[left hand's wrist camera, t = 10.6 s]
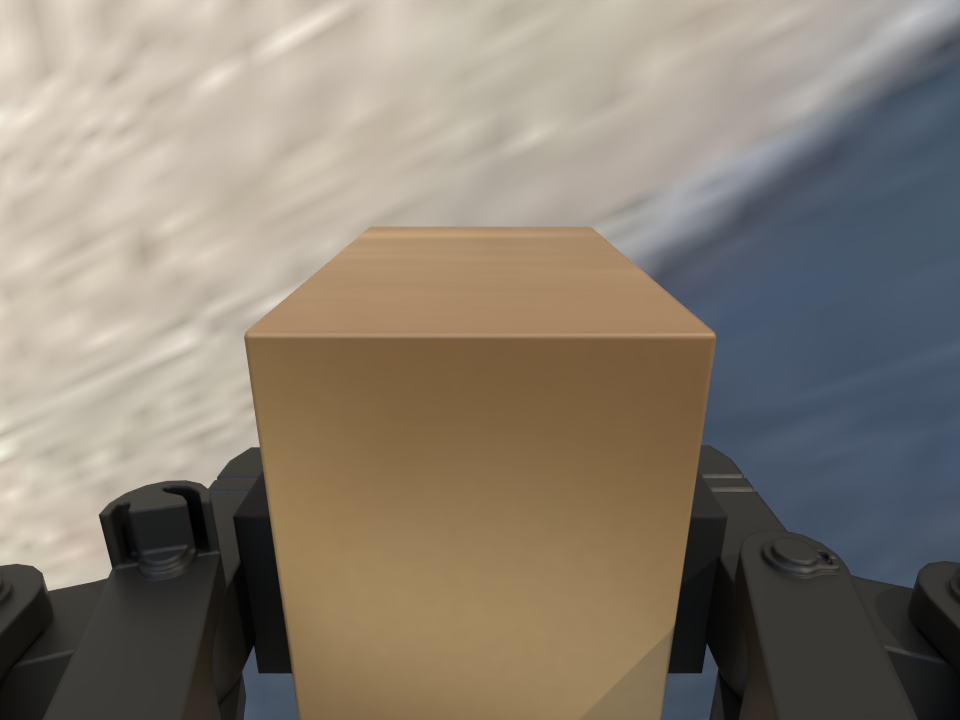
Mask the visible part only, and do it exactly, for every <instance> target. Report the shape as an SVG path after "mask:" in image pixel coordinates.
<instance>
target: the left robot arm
mask: <svg viewBox="0 0 960 720" xmlns="http://www.w3.org/2000/svg"><path fill="white" fill-rule="evenodd" d="M99 518H100V522H101V526H102V530H103V533H104V537H105V541H106V545H107V549H108V553H109V557H110V561H111V565H112V571H111V573H110V575H109V577H108V578H107V579H103V580H99V581H96V582H91V583H86V584H81V585H76V586H72V587H67V588H62V589H57V590H52V591H48V590H47V587H46V584H45V580H44V577H43V574H42V573H41V572H40V571H39V570H37V569H36V568H35V567H33V566H27V565H20V564H12V565H4V566H0V720H243V719H244V710H245V702H246V693H245V686H244V680H243V674H242V670H243V668H244V666H245V664H246V661H247V659H248V657H249V655H250V653H251V650H252V648H253V646H254V648H255V654H256V660H257V666H258V672H259V673H292V668H291V661H290V654H289V647H288V640H287V633H286V626H285V619H284V612H283V605H282V598H281V591H280V584H279V577H278V570H277V563H276V556H275V549H274V542H273V535H272V528H271V521H270V514H269V507H268V500H267V493H266V486H265V479H264V472H263V465H262V458H261V451H260V447H251V448H250V449H248V450H246V451H245V452H243V453H242V454H240V455H239V456H237V457H235V458H234V459H232V460H231V461H229V463H228V464H227V465H226V466H225V468H224V469H223V470H222V472H221V473H220V474H219V476H218V477H217V480H215V481H214V482H213V483H212V485H211V486H210V487H209V488H208V489H207V488H206V487H205V486H203V485H202V484H200V483H196V482H191V481H187V480H183V481H165V482H160V483H155V484H150V485H146V486H143V487H141V488H138V489H135V490H133V491H130V492H128V493H125V494H124V495H122V496H120V497H119V498H117V499H116V500H114V501H112V502H111V503H109V504H108V505H107V506H106V508H105V509H104V510H103V511H102V512H101V513H100V514H99ZM707 644H708V646H709V648H710V651H711V653H712V655H713V657H714V659H715V662H716V664H717V666H718V668H719V669H718V674H717V680H716V685H715V691H714V697H713V702H712V708H711V713H710V719H709V720H960V563H955V562H946V561H944V562H936V563H929V564H927V565H926V566H925V567H923V568H922V569H921V570H919V573H918V576H917V579H916V582H915V586H914V589H912V588H907V587H902V586H897V585H892V584H887V583H882V582H878V581H873V580H868V579H864V578H860V577H856V576H853V575H851V574H850V572H849V570H848V568H847V566H846V565H845V564H844V562H843V561H842V560H841V558H840V557H839V556H838V555H837V554H836V553H834V552H833V551H832V550H830V549H829V548H827V547H826V546H825V545H823V544H822V543H819V542H817V541H815V540H813V539H810V538H808V537H806V536H804V535H800V534H796V533H792V532H788V531H787V530H786V529H785V527H784V526H783V525H782V524H781V522H780V521H779V520H778V518H777V517H776V516H775V515H774V513H773V512H772V511H771V509H770V508H769V507H768V506H767V504H766V503H765V502H764V500H763V499H762V498H761V497H760V495H759V494H758V493H757V492H754V488H753V486H752V485H751V484H750V483H749V481H748V480H747V479H746V478H744V475H743V474H742V472H741V471H740V470H739V468H738V467H737V466H736V465H735V463H734V462H733V461H732V459H730V458H729V457H727V456H725V455H724V454H722V453H721V452H719V451H718V450H716V449H714V448H713V447H711V446H701V448H700V455H699V462H698V469H697V476H696V483H695V489H694V496H693V503H692V510H691V517H690V524H689V531H688V538H687V545H686V552H685V558H684V565H683V572H682V579H681V586H680V593H679V600H678V607H677V614H676V620H675V627H674V634H673V641H672V648H671V655H670V662H669V669H668V673H702V669H703V663H704V657H705V651H706V645H707Z"/></svg>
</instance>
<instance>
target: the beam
mask: <svg viewBox="0 0 960 720" xmlns="http://www.w3.org/2000/svg"><path fill="white" fill-rule="evenodd" d="M244 338H245V345H246V352H247V360H248V367H249V374H250V381H251V388H252V395H253V402H254V409H255V416H256V423H257V430H258V437H259V444H260V451H261V458H262V465H263V472H264V479H265V486H266V493H267V500H268V507H269V514H270V521H271V528H272V535H273V542H274V549H275V556H276V563H277V570H278V577H279V584H280V591H281V598H282V605H283V612H284V619H285V626H286V633H287V640H288V647H289V654H290V661H291V668H292V675H293V682H294V689H295V696H296V703H297V710H298V717H299V720H661V717H662V710H663V703H664V696H665V689H666V683H667V676H668V669H669V662H670V655H671V648H672V641H673V634H674V627H675V620H676V614H677V607H678V600H679V593H680V586H681V579H682V572H683V565H684V558H685V552H686V545H687V538H688V531H689V524H690V517H691V510H692V503H693V496H694V489H695V483H696V476H697V469H698V462H699V455H700V448H701V441H702V434H703V427H704V421H705V414H706V407H707V400H708V393H709V386H710V379H711V372H712V365H713V359H714V352H715V345H716V334H715V332H714V331H712V330H711V329H710V328H709V327H708V326H706V325H705V324H704V323H703V322H702V321H701V320H699V319H698V318H697V317H696V316H695V315H694V314H692V313H691V312H690V311H689V310H688V309H687V308H685V307H684V306H683V305H682V304H681V303H679V302H678V301H677V300H676V299H675V298H674V297H672V296H671V295H670V294H669V293H668V292H667V291H665V290H664V289H663V288H662V287H661V286H659V285H658V284H657V283H656V282H655V281H654V280H652V279H651V278H650V277H649V276H648V275H647V274H645V273H644V272H643V271H642V270H641V269H640V268H638V267H637V266H636V265H635V264H634V263H632V262H631V261H630V260H629V259H628V258H627V257H625V256H624V255H623V254H622V253H621V252H620V251H618V250H617V249H616V248H615V247H614V246H613V245H611V244H610V243H609V242H608V241H607V240H605V239H604V238H603V237H602V236H601V235H600V234H598V233H597V232H596V231H595V230H594V229H593V228H591V227H371V228H369V229H368V230H367V231H365V232H364V233H363V234H362V235H361V236H360V237H358V238H357V239H356V240H355V241H354V242H352V243H351V244H350V245H349V246H348V247H346V248H345V249H344V250H343V251H342V252H340V253H339V254H338V255H337V256H336V257H335V258H333V259H332V260H331V261H330V262H329V263H327V264H326V265H325V266H324V267H323V268H321V269H320V270H319V271H318V272H317V273H315V274H314V275H313V276H312V277H311V278H310V279H308V280H307V281H306V282H305V283H304V284H302V285H301V286H300V287H299V288H298V289H296V290H295V291H294V292H293V293H292V294H290V295H289V296H288V297H287V298H286V299H285V300H283V301H282V302H281V303H280V304H279V305H277V306H276V307H275V308H274V309H273V310H271V311H270V312H269V313H268V314H267V315H265V316H264V317H263V318H262V319H261V320H260V321H258V322H257V323H256V324H255V325H254V326H252V327H251V328H250V329H249V330H248V331H246V333H245V336H244Z"/></svg>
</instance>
